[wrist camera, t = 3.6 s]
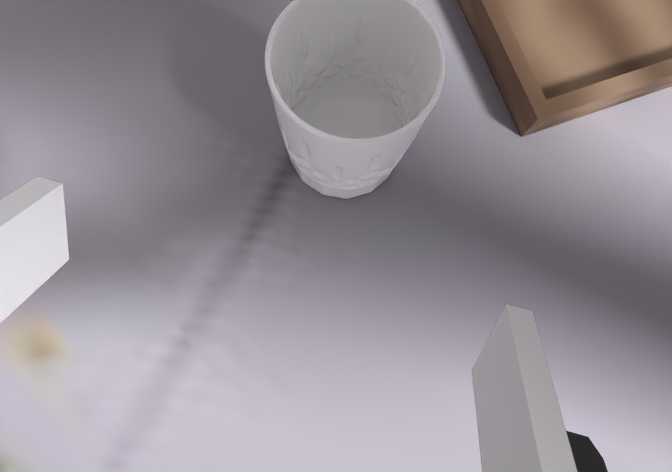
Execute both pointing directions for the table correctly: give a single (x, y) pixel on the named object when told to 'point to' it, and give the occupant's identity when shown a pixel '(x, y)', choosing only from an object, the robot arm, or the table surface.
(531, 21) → the walnut tray
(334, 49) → the white cup
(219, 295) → the table surface
